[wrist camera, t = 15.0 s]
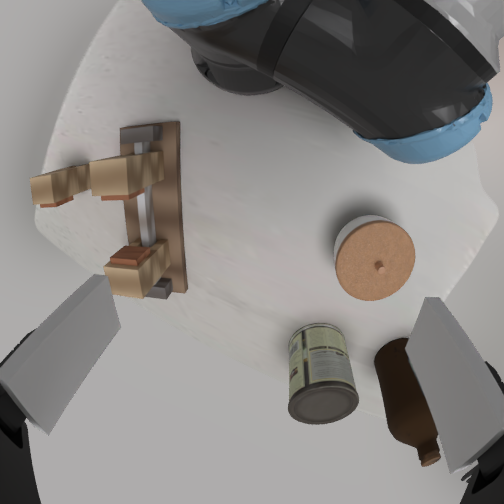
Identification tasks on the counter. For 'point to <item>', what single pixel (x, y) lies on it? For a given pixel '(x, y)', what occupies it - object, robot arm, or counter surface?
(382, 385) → the olive oil
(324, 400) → the coffee can
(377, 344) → the counter surface
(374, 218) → the lidded jar
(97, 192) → the block
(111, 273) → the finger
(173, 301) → the counter surface
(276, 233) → the counter surface
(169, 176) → the rail board
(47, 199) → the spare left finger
